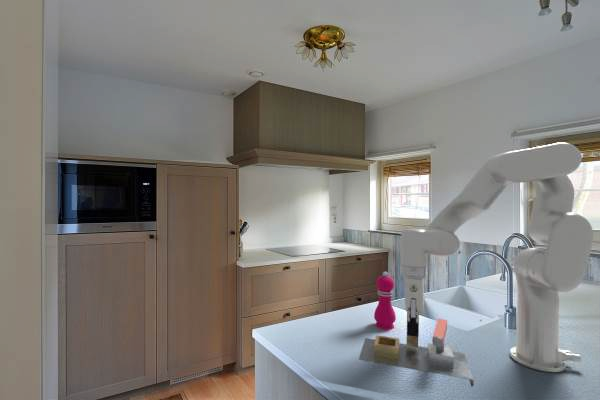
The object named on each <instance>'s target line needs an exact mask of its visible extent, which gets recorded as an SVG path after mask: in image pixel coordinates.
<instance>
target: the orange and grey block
mask: <svg viewBox="0 0 600 400" xmlns="http://www.w3.org/2000/svg"><path fill="white" fill-rule="evenodd" d="M447 329H448V320H447V319H443V318H437V321H436V324H435V328H434V331H433V334H432V341H431V342H432V344H433V345H434V346H436V350H437V351H441V352H443V351H444V346H445V339H446V333H447Z"/></svg>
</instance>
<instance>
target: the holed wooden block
mask: <svg viewBox="0 0 600 400" xmlns="http://www.w3.org/2000/svg"><path fill="white" fill-rule="evenodd" d="M374 339H375V343H374V355H375V356H380V357H386V358H392V359H398V360H399V343H400V338H397V337H391V336H384V335H378V334H377V335H376V336H375V338H374Z"/></svg>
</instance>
